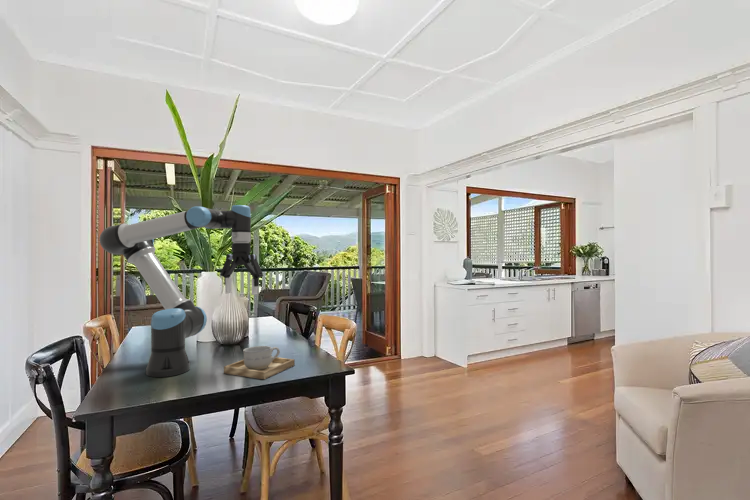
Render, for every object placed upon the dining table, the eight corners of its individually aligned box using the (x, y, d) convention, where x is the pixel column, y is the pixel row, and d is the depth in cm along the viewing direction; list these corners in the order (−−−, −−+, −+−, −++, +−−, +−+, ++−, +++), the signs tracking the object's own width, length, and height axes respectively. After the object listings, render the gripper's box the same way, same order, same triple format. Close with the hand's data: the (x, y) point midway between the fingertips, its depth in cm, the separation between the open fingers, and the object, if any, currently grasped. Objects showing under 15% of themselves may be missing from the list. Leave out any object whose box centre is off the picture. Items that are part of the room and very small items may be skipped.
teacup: (242, 373, 151) (242, 352, 151) (243, 365, 161) (243, 345, 161) (281, 370, 155) (281, 349, 155) (279, 362, 165) (279, 343, 165)
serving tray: (223, 373, 153) (223, 366, 153) (256, 360, 171) (256, 354, 171) (264, 379, 146) (264, 372, 146) (294, 365, 163) (294, 359, 163)
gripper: (211, 242, 168) (211, 293, 168) (259, 242, 159) (259, 296, 159) (224, 243, 175) (224, 291, 175) (271, 242, 166) (271, 294, 166)
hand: (241, 293), depth 167 cm, fingers open, 13 cm apart
